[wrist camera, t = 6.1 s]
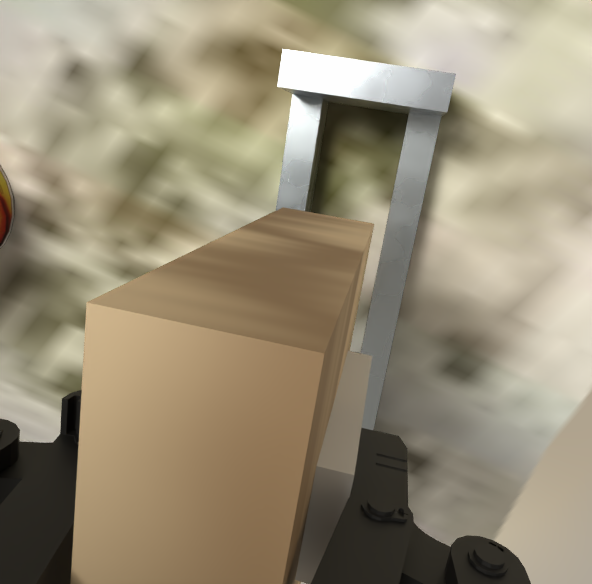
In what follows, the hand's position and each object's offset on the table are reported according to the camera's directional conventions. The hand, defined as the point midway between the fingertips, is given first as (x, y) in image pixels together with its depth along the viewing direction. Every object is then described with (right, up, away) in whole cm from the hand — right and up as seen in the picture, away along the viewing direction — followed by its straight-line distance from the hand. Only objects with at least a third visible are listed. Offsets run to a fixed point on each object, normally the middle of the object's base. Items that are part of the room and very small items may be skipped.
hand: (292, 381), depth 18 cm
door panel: (0, 0, +2) cm, 2 cm away
